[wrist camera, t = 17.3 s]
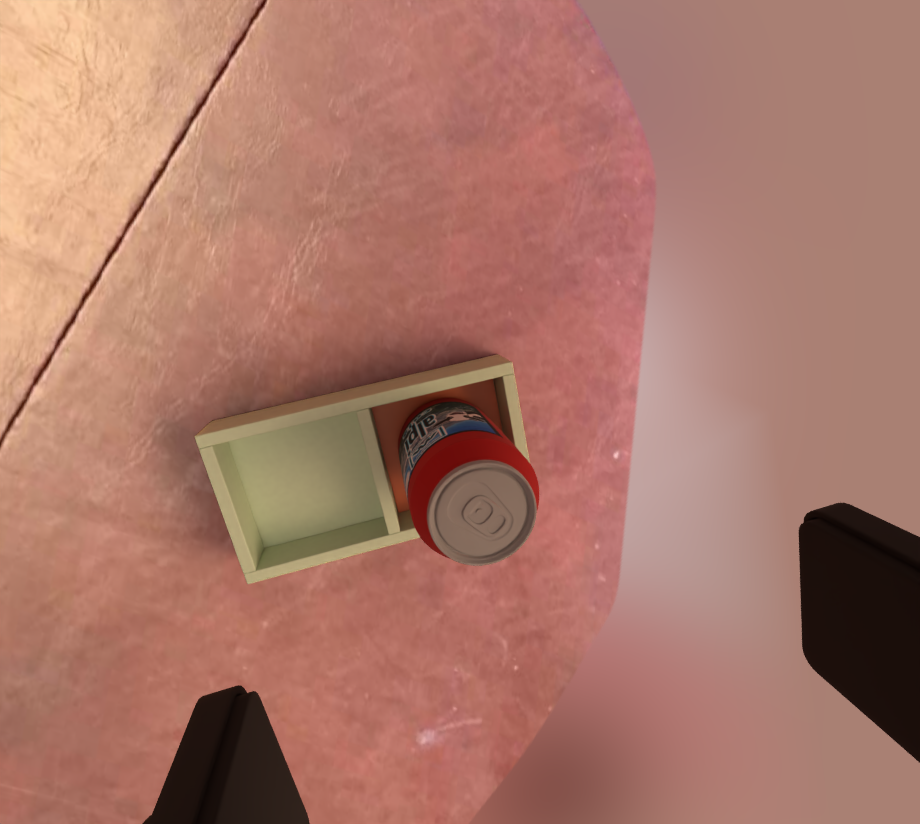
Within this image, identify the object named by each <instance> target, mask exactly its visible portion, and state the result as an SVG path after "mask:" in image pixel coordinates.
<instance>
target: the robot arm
mask: <svg viewBox="0 0 920 824" xmlns="http://www.w3.org/2000/svg"><path fill="white" fill-rule="evenodd" d="M799 553H800V554H799V555H800V585H801V586H800V587H801V619H802V647H803V652H804V655H805V657H806V659H807V661H808V663H809V664H810V666H811V667H812V668H813V669H814V670H815V671H816V672H817V673H818V674H819V675H820V676H821V677H823V678H824V679H825V680H826V681H827V682H828V683H829V684H831V685H832V686H833V687H834V688H835V689H836V690H837V691H839V692H840V693H841V694H842V695H843V696H844V697H845V698H847V699H848V700H849V701H850V702H851V703H852V704H853V705H855V706H856V707H857V708H858V709H859V710H860V711H861V712H863V713H864V714H865V715H866V716H867V717H868V718H869V719H871V720H872V721H873V722H874V723H875V724H876V725H877V726H879V727H880V728H881V729H882V730H883V731H884V732H885V733H887V734H888V735H889V736H890V737H891V738H892V739H893V740H895V741H896V742H897V743H898V744H899V745H900V746H901V747H903V748H904V749H905V750H906V751H907V752H908V753H909V754H911V755H912V756H913V757H914V758H915V759H916V760H917V761H919V762H920V537H918V536H916V535H914V534H912V533H910V532H907V531H905V530H903V529H901V528H899V527H897V526H895V525H893V524H890V523H888V522H886V521H884V520H882V519H880V518H878V517H876V516H873V515H871V514H869V513H867V512H865V511H862V510H861V509H858V508H856V507H854V506H852V505H850V504H846V503H836V504H833V505H830V506H827V507H823V508H820V509H816V510H813V511H810V512H809V513H807V514H806V516H805V517H804V523H803V524H801V525H800V528H799ZM143 824H309V818H308V815H307V812H306V810H305V807H304V805H303V802H302V800H301V798H300V795H299V793H298V790H297V788H296V785H295V783H294V780H293V778H292V775H291V773H290V770H289V768H288V765H287V763H286V761H285V758H284V756H283V753H282V751H281V748H280V746H279V743H278V741H277V738H276V736H275V733H274V731H273V729H272V726H271V724H270V721H269V719H268V716H267V714H266V711H265V709H264V706H263V704H262V701H261V699H260V697H259V695H258V693H257V692H255V691H253V692H249V693H247V692H246V690H245V689H244V688H243V687H242V686H235V687H231V688H228V689H225V690H221V691H218V692H215V693H212V694H208V695H205V696H202V697H201V698H200V699H199V700H198V702H197V703H196V705H195V708H194V710H193V713H192V715H191V718H190V720H189V723H188V725H187V728H186V730H185V733H184V735H183V738H182V740H181V743H180V745H179V748H178V751H177V753H176V756H175V758H174V761H173V763H172V766H171V768H170V771H169V773H168V776H167V778H166V781H165V783H164V786H163V788H162V791H161V793H160V796H159V798H158V801H157V803H156V806H155V808H154V811H153V813H152V815H151V816H149V817H148V818H147V819H146V820H145V821H144V823H143Z"/></svg>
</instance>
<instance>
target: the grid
mask: <svg viewBox="0 0 920 824" xmlns="http://www.w3.org/2000/svg"><path fill="white" fill-rule="evenodd" d="M513 373H514V370H513V364H512V362H511V361H509V360H507V359H506V358H504V357H502V356H500V355H498V354H497V355H493V356H488V357H484V358H480V359H475V360H471V361H467V362H463V363H458V364H454V365H450V366H445V367H441V368H437V369H433V370H428V371H424V372H420V373H415V374H411V375H407V376H402V377H398V378H394V379H390V380H385V381H381V382H377V383H372V384H368V385H364V386H360V387H355V388H351V389H347V390H342V391H338V392H334V393H329V394H325V395H321V396H317V397H312V398H308V399H304V400H299V401H295V402H291V403H287V404H282V405H278V406H274V407H269V408H265V409H261V410H256V411H252V412H248V413H244V414H239V415H235V416H231V417H226V418H222V419H218V420H213V421H211V422H210V423H209V424H208V425H207V426H205V427H204V428H203V429H202V430H201V431H200V432H199V433H198V434H197V435H196V436H195V440H196V443H197V446H198V448H200V449H199V451H200V454H201V457H202V460H203V463H204V465H205V468H206V471H207V474H208V476H209V479H210V482H211V485H212V488H213V490H214V493H215V496H216V499H217V501H218V504H219V507H220V510H221V512H222V515H223V518H224V521H225V524H226V526H227V529H228V532H229V535H230V537H231V540H232V543H233V546H234V549H235V551H236V554H237V557H238V560H239V562H240V565H241V568H242V571H243V573H244V576H245V579H246V582H247V584H251V583H255V582H258V581H262V580H266V579H269V578H273V577H277V576H280V575H284V574H288V573H291V572H295V571H299V570H302V569H306V568H310V567H313V566H317V565H321V564H324V563H328V562H332V561H335V560H339V559H343V558H346V557H350V556H353V555H357V554H361V553H364V552H368V551H372V550H375V549H379V548H383V547H386V546H390V545H394V544H397V543H401V542H405V541H408V540H412V539H416V538H419V537H420V536H419V534H418V533H417V531H416V529H415V527H414V524H413V521H412V517H411V513H410V509H409V505H408V500H407V496H406V491H405V487H404V482H403V477H402V472H401V466H400V460H399V454H398V440H399V435H400V432H401V429H402V427H403V425H404V423H405V422H406V420H407V419H408V417H409V416H410V415H411V414H412V413H413V412H414V411H415V410H416V409H418V408H419V407H420V406H422V405H424V404H426V403H428V402H430V401H433V400H436V399H441V398H456V399H461V400H464V401H467V402H469V403H471V404H473V405H475V406H476V407H478V408H479V409H480V410H481V411H482V412H483V413H484V414H485V415H486V416H487V417H488V418H489V419H490V420H491V421H492V422H493V423H494V424H495V425H496V426H497V427H498V428H499V429H500V430H501V431H502V432H503V433H504V434H505V436H506V437H507V438H508V439H509V440H510V441H511V442H512V443H513V444H514V445H515V447H516V448H517V449H518V450H519V451H520V452H521V453H522V454H523V456H524V457H525V458H526V459H527V460H528V462H529V463H530V461H529V455H528V449H527V444H526V438H525V432H524V426H523V421H522V415H521V409H520V403H519V398H518V392H517V386H516V380H515V375H514V374H513Z"/></svg>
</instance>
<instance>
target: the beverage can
mask: <svg viewBox="0 0 920 824" xmlns="http://www.w3.org/2000/svg"><path fill="white" fill-rule="evenodd" d="M398 454H399V460H400V466H401V472H402V477H403V482H404V487H405V491H406V496H407V500H408V505H409V509H410V513H411V517H412V521H413V524H414V527H415V529H416V531H417V533H418V534H419V536H420V537H421V539H422V540H423V541H424V542H425V543H426V544H427V545H428V546H429V547H430V548H431V549H433V550H434V551H436V552H437V553H439V554H441V555H443V556H445V557H447V558H450V559H452V560H454V561H456V562H459V563H462V564H466V565H473V566H482V565H489V564H493V563H496V562H499V561H501V560H503V559H505V558H507V557H509V556H510V555H512V554H513V553H515V552H516V551H517V550H518V549H519V548H520V547H521V546H522V545H523V544H524V543H525V541H526V540H527V539H528V537H529V535H530V533H531V531H532V529H533V527H534V524H535V520H536V513H537V509H538V504H539V486H538V481H537V477H536V474H535V472H534V470H533V468H532V466H531V464H530V463H529V462H528V460H527V459H526V458H525V457H524V456H523V454H522V453H521V452H520V451H519V450H518V449H517V448H516V447H515V445H514V444H513V443H512V442H511V441H510V440H509V439H508V438H507V437H506V436H505V434H504V433H503V432H502V431H501V430H500V429H499V428H498V427H497V426H496V425H495V424H494V423H493V422H492V421H491V420H490V419H489V418H488V417H487V416H486V415H485V414H484V413H483V412H482V411H481V410H480V409H479V408H478V407H476V406H475V405H473V404H471V403H469V402H467V401H464V400H461V399H456V398H441V399H436V400H433V401H430V402H428V403H426V404H424V405H422V406H420V407H419V408H418V409H416V410H415V411H414V412H413V413H412V414H411V415H410V416H409V417H408V419H407V420H406V422H405V423H404V425H403V427H402V429H401V432H400V435H399V440H398Z"/></svg>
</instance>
